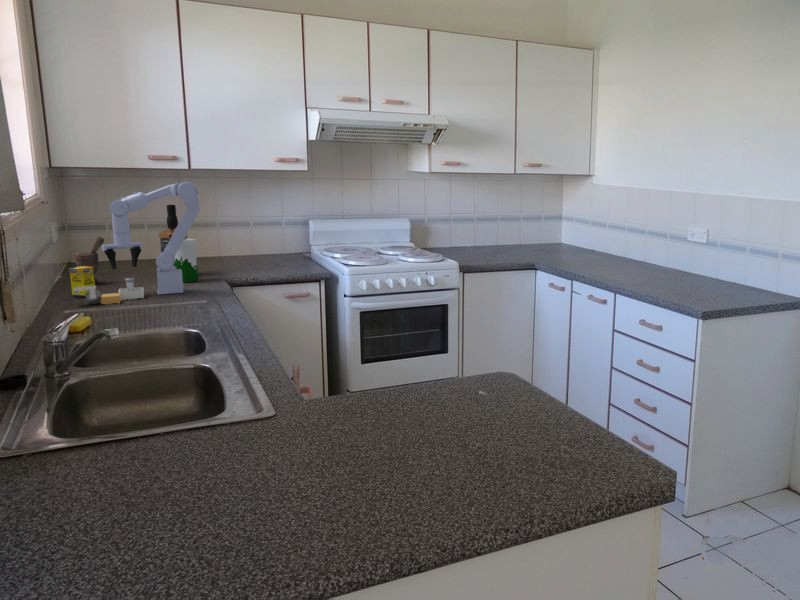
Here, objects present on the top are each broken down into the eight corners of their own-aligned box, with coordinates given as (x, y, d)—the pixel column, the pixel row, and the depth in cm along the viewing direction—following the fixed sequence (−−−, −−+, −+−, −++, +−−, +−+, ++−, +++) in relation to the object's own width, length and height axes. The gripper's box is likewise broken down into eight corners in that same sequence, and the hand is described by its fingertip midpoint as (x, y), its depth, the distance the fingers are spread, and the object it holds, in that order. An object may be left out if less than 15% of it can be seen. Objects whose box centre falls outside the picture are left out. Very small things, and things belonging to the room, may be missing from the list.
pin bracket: (116, 297, 230) (116, 293, 230) (116, 299, 226) (115, 295, 225) (103, 298, 228) (103, 294, 228) (102, 300, 224) (102, 296, 224)
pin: (135, 294, 232) (133, 277, 230) (136, 296, 229) (134, 278, 228) (126, 295, 230) (124, 278, 229) (127, 297, 227) (125, 279, 226)
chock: (120, 301, 224) (120, 293, 224) (120, 304, 220) (119, 295, 219) (102, 302, 222) (101, 294, 222) (102, 305, 218) (101, 297, 217)
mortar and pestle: (109, 281, 264) (104, 235, 259) (108, 284, 256) (103, 237, 252) (79, 283, 259) (73, 236, 255) (77, 286, 251) (72, 238, 247)
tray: (144, 294, 234) (143, 287, 234) (143, 298, 228) (143, 290, 227) (119, 296, 231) (119, 288, 231) (118, 300, 225) (118, 292, 224)
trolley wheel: (102, 301, 222) (101, 285, 221) (101, 304, 217) (99, 287, 216) (77, 303, 219) (75, 286, 218) (75, 306, 214) (73, 289, 213)
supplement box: (85, 297, 230) (82, 268, 228) (72, 297, 231) (68, 268, 229) (96, 294, 236) (93, 266, 233) (83, 293, 237) (79, 266, 235)
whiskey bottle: (193, 276, 276) (187, 204, 270) (173, 279, 269) (167, 205, 262) (179, 273, 282) (173, 203, 276) (160, 276, 275) (153, 204, 268)
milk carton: (172, 281, 263) (168, 234, 259) (192, 278, 269) (188, 233, 265) (182, 283, 257) (178, 236, 253) (202, 281, 263) (198, 234, 259)
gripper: (105, 234, 223) (108, 271, 225) (145, 231, 233) (147, 267, 236) (98, 232, 227) (101, 268, 230) (137, 230, 238) (139, 265, 240)
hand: (124, 267), depth 233 cm, fingers open, 7 cm apart
